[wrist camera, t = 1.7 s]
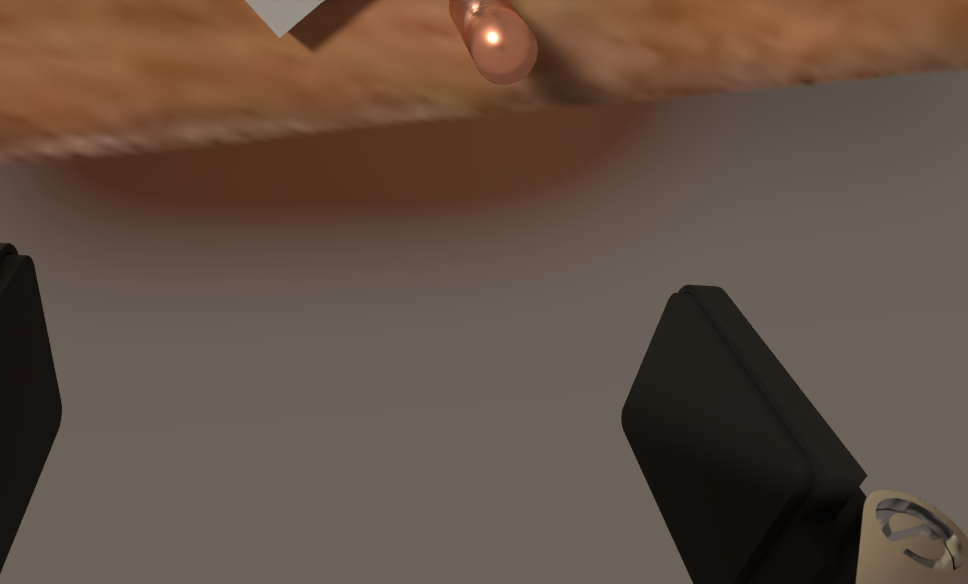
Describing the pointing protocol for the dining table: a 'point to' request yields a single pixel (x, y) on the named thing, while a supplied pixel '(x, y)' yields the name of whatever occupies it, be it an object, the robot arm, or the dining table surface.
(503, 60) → the crank
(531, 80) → the dining table surface
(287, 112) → the dining table surface
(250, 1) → the stand
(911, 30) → the dining table surface
